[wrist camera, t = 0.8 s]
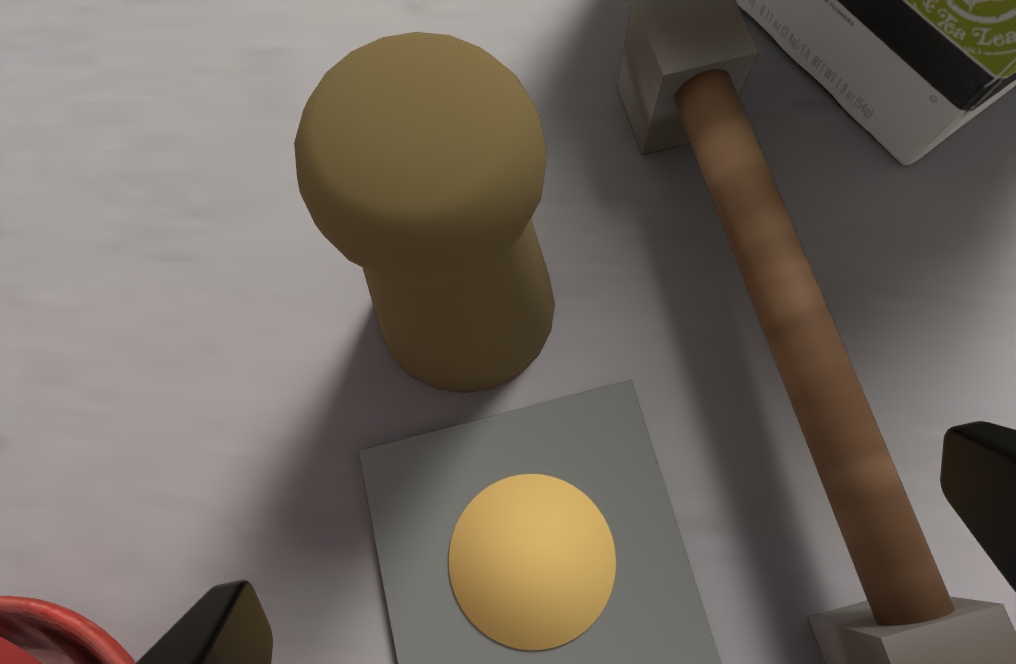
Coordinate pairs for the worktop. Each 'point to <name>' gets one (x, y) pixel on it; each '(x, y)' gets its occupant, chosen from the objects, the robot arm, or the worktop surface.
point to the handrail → (801, 342)
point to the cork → (434, 202)
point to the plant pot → (53, 635)
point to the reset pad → (535, 540)
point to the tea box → (900, 60)
